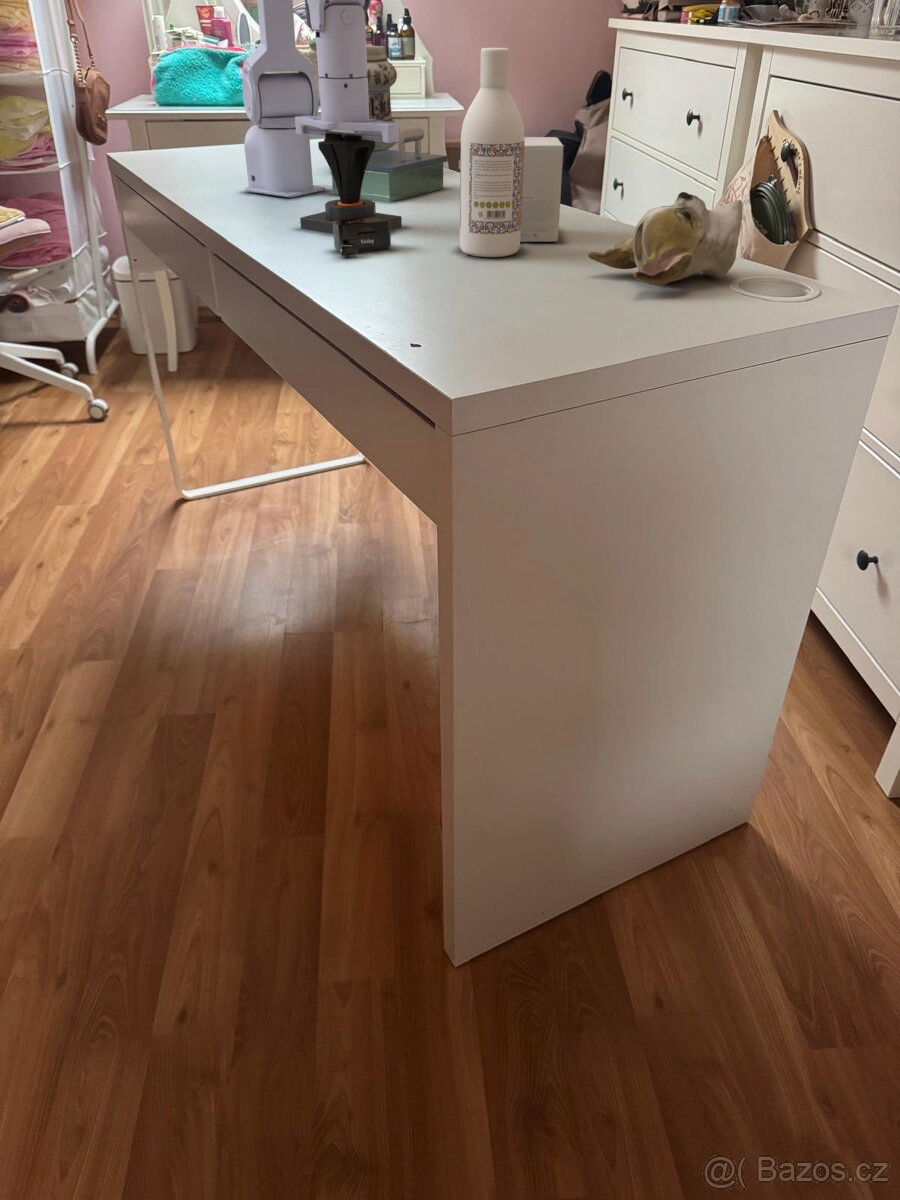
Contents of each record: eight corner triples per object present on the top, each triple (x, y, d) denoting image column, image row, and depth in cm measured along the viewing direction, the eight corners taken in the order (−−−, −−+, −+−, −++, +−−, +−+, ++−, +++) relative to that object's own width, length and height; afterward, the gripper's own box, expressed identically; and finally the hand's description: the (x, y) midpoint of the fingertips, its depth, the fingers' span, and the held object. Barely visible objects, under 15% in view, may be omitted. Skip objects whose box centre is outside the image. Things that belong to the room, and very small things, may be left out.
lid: (447, 161, 135) (447, 125, 132) (393, 173, 126) (392, 135, 123) (387, 155, 140) (386, 120, 137) (331, 166, 131) (328, 129, 128)
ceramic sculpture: (777, 191, 86) (642, 212, 82) (765, 283, 91) (636, 307, 87) (712, 175, 94) (586, 194, 90) (704, 260, 99) (584, 281, 95)
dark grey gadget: (326, 251, 103) (324, 221, 101) (383, 245, 106) (381, 216, 104) (341, 260, 100) (339, 229, 98) (399, 253, 102) (398, 223, 101)
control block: (300, 229, 113) (298, 203, 111) (341, 218, 119) (340, 194, 117) (362, 239, 108) (361, 212, 107) (402, 227, 114) (401, 202, 112)
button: (332, 216, 112) (332, 203, 111) (349, 212, 114) (348, 199, 114) (352, 219, 111) (351, 205, 110) (368, 215, 113) (368, 201, 112)
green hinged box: (443, 188, 137) (443, 161, 135) (389, 202, 128) (388, 173, 126) (388, 182, 142) (387, 155, 140) (333, 194, 133) (331, 166, 131)
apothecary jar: (339, 165, 157) (331, 44, 147) (406, 166, 155) (403, 44, 145) (321, 176, 147) (312, 47, 137) (393, 177, 145) (389, 48, 135)
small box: (558, 243, 107) (564, 145, 101) (511, 242, 107) (515, 144, 101) (553, 228, 113) (558, 136, 108) (508, 228, 114) (512, 135, 108)
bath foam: (530, 254, 102) (541, 49, 91) (476, 261, 99) (480, 50, 88) (501, 242, 107) (508, 46, 96) (449, 248, 105) (450, 47, 93)
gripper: (273, 76, 105) (285, 201, 112) (370, 81, 98) (376, 214, 106) (313, 73, 110) (322, 193, 117) (408, 78, 103) (411, 205, 110)
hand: (350, 202), depth 112 cm, fingers closed, pressing on button
